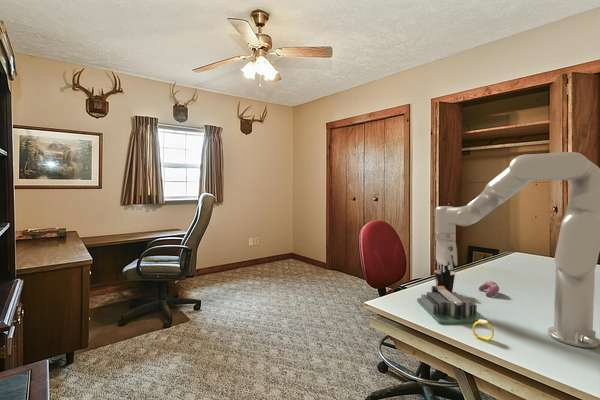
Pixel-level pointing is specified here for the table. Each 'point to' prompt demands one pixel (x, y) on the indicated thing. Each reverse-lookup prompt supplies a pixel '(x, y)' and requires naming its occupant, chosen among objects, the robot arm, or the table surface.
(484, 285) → the video game controller
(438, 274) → the coffee mug
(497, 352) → the table surface
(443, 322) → the heat sink base
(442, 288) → the steel strap
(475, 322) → the watch
